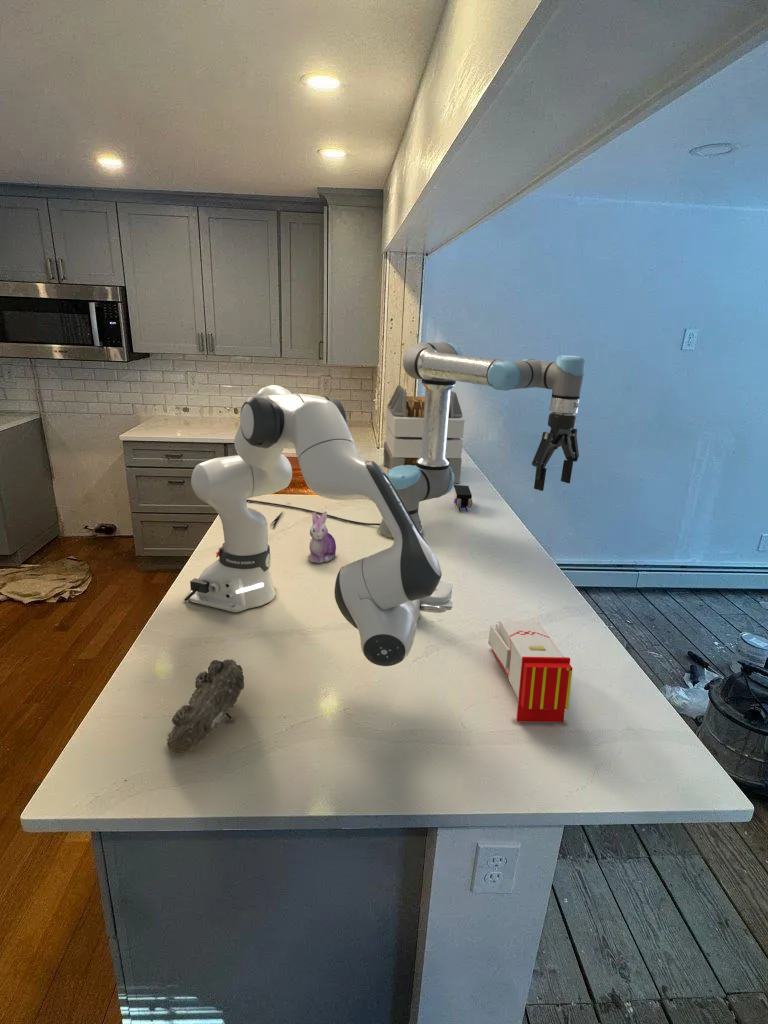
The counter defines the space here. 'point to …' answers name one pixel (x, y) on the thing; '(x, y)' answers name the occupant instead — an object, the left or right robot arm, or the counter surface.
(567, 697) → the toy
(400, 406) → the transformer
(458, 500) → the figurine character
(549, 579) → the counter surface
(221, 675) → the fossil
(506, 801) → the counter surface
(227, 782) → the counter surface
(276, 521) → the feather
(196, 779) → the counter surface
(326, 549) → the figurine
